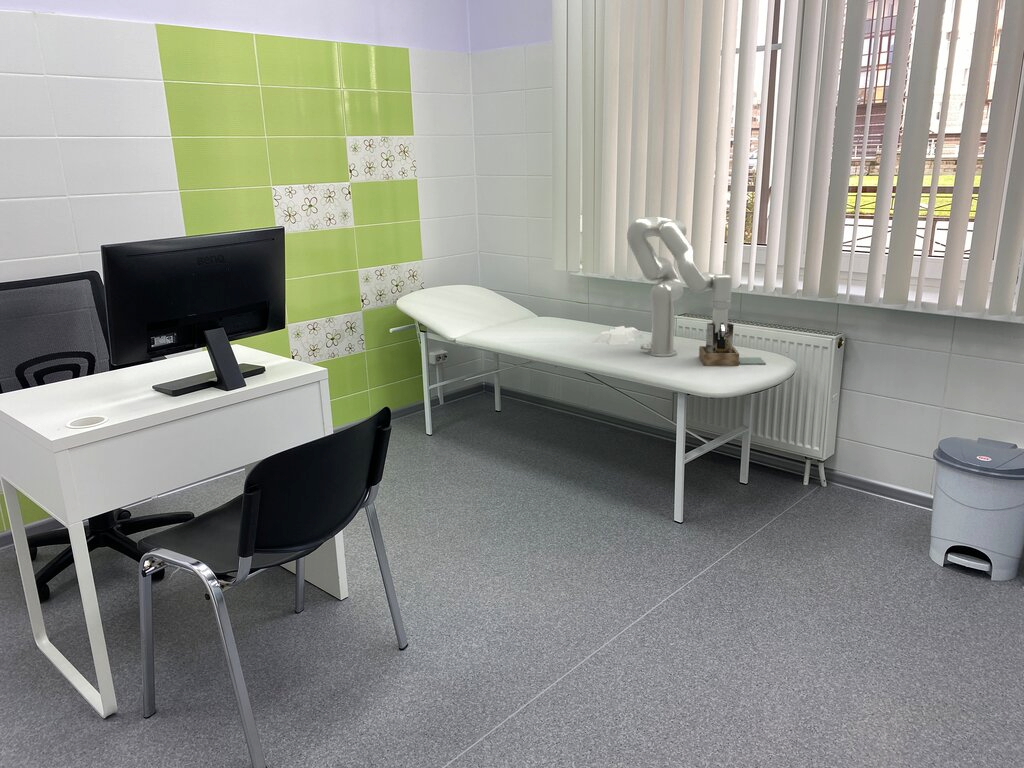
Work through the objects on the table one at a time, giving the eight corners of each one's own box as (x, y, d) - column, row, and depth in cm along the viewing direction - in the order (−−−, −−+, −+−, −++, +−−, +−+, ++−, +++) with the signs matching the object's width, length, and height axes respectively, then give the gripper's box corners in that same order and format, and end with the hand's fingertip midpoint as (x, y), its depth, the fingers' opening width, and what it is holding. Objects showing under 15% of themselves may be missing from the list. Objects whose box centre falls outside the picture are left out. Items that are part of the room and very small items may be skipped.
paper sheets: (620, 351, 341) (620, 339, 339) (583, 346, 352) (583, 335, 351) (655, 337, 367) (656, 326, 366) (620, 333, 379) (620, 322, 377)
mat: (740, 364, 309) (740, 363, 309) (735, 358, 319) (736, 357, 319) (765, 364, 308) (765, 363, 308) (760, 358, 318) (760, 357, 318)
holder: (703, 365, 310) (704, 353, 308) (698, 357, 323) (699, 346, 322) (738, 365, 308) (739, 353, 307) (732, 357, 322) (733, 346, 320)
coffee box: (712, 364, 311) (714, 325, 307) (704, 360, 317) (706, 323, 313) (732, 362, 314) (734, 324, 309) (724, 358, 320) (725, 321, 315)
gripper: (708, 301, 318) (706, 341, 323) (715, 308, 301) (713, 351, 306) (726, 301, 317) (724, 341, 322) (734, 308, 300) (732, 351, 305)
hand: (719, 346), depth 314 cm, fingers closed on coffee box, 8 cm apart
